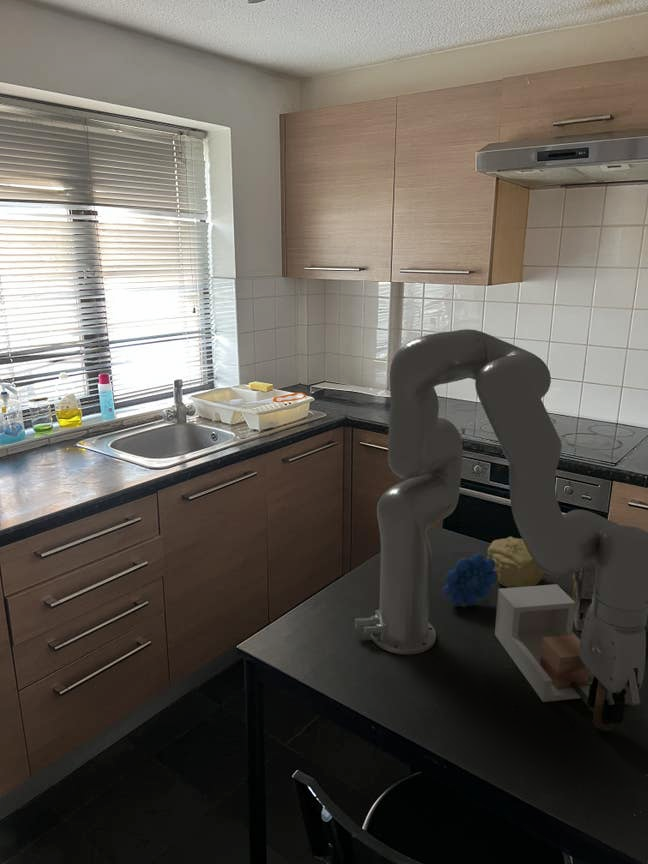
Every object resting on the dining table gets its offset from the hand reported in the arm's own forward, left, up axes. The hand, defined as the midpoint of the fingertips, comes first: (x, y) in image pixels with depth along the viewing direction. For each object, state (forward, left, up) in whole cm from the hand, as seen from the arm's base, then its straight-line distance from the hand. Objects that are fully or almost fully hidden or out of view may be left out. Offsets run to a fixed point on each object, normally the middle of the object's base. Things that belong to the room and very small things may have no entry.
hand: (604, 713), depth 100 cm
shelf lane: (0, +18, -3) cm, 18 cm away
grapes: (-7, +40, -3) cm, 40 cm away
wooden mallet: (0, +7, -2) cm, 7 cm away
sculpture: (+7, +47, -4) cm, 47 cm away
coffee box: (+15, +30, -3) cm, 33 cm away
